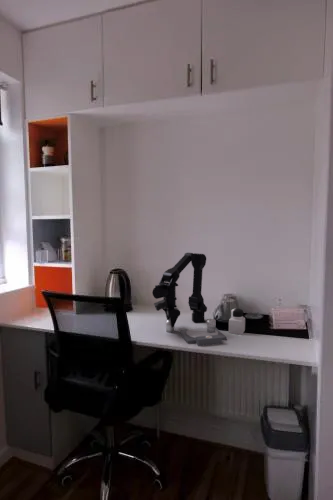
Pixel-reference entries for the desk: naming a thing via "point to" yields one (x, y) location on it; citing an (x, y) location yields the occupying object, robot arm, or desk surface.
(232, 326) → the medicine bottle
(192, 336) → the scale
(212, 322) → the cylinder
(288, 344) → the desk surface
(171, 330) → the cylinder
